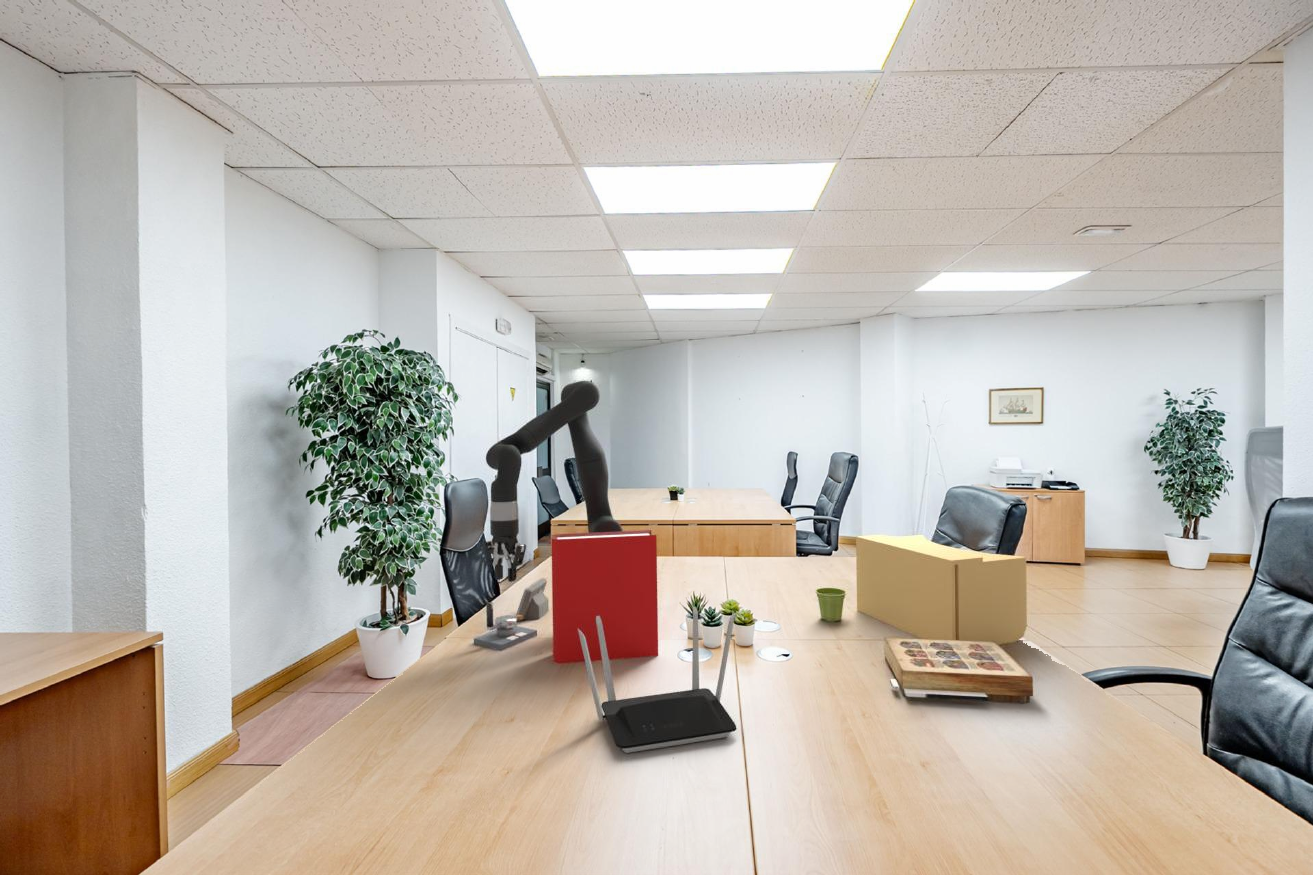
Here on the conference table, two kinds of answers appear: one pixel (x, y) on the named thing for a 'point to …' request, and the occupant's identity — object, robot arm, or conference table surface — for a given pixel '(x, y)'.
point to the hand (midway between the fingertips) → (505, 579)
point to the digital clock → (534, 601)
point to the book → (604, 594)
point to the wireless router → (662, 705)
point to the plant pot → (831, 603)
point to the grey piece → (500, 619)
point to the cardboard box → (941, 589)
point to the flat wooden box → (956, 670)
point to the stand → (505, 637)
